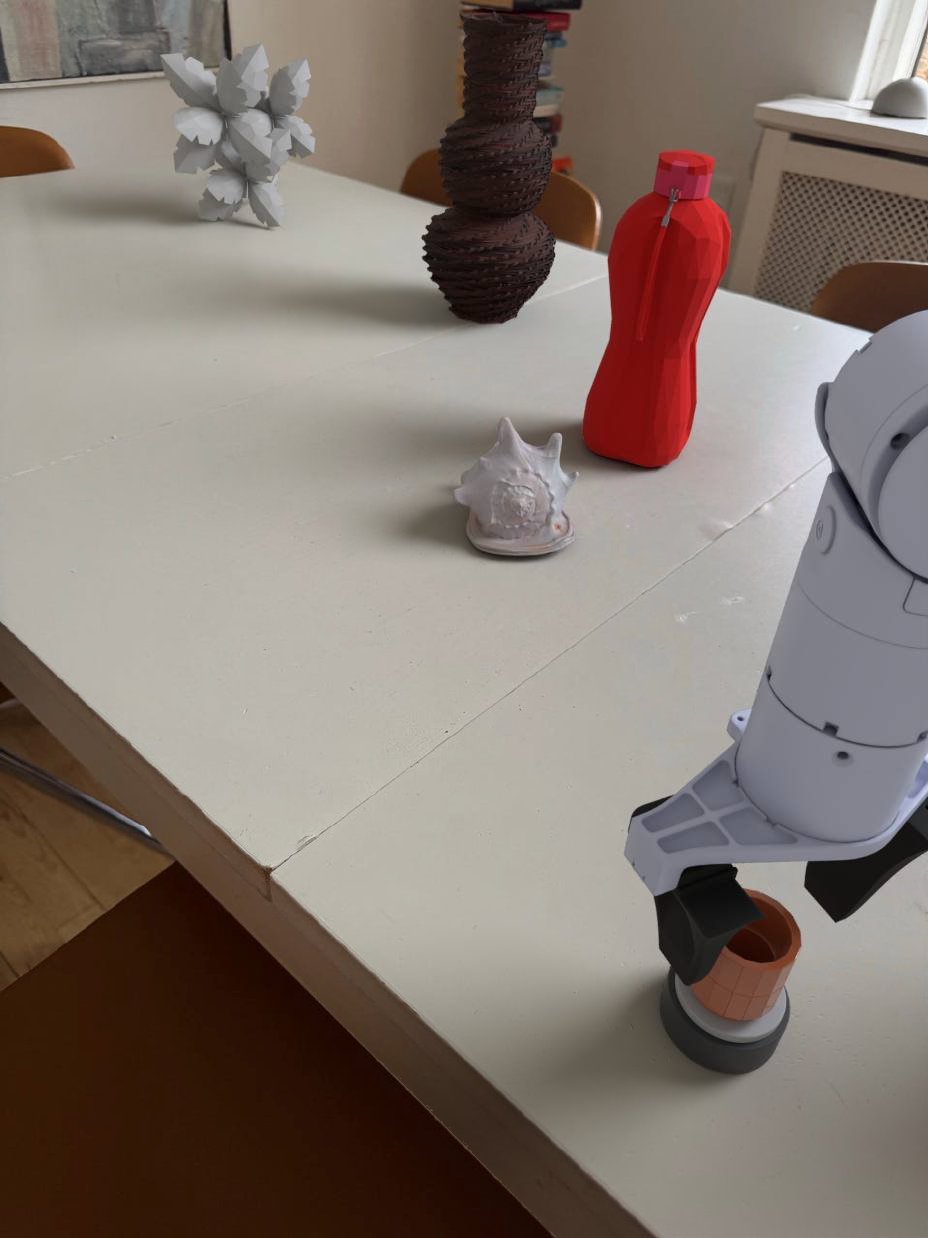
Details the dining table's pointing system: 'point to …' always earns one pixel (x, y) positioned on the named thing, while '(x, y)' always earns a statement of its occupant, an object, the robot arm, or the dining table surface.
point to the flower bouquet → (239, 129)
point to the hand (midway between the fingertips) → (754, 932)
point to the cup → (752, 964)
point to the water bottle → (657, 314)
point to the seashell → (517, 497)
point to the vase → (494, 176)
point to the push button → (720, 1030)
